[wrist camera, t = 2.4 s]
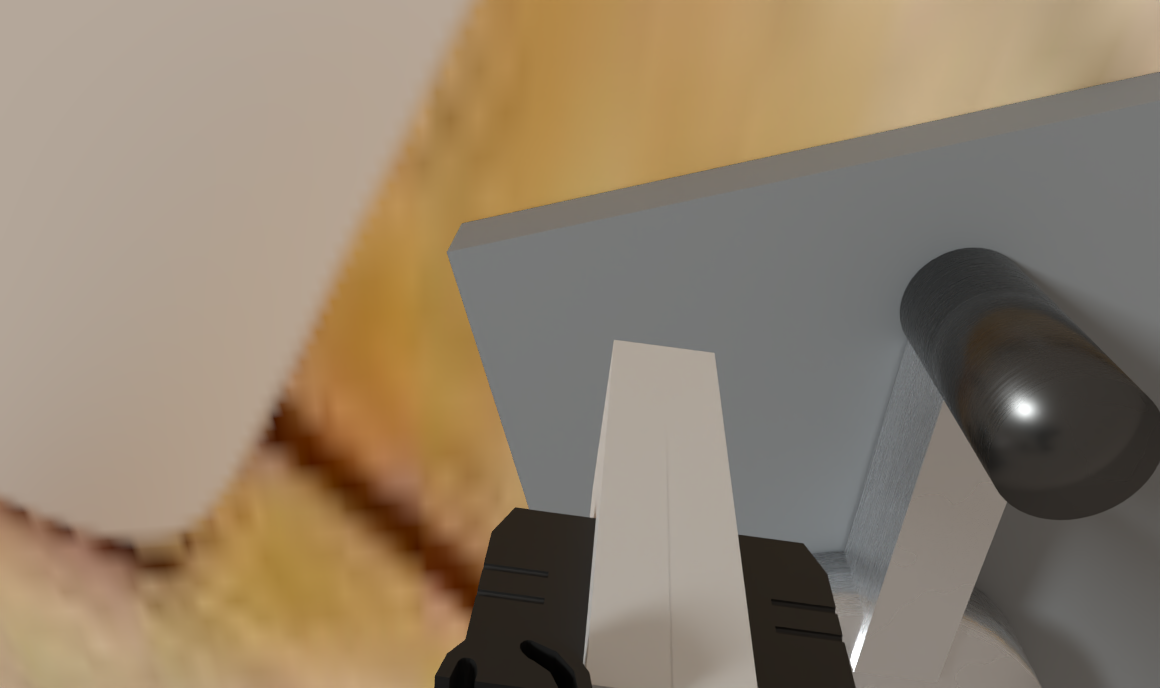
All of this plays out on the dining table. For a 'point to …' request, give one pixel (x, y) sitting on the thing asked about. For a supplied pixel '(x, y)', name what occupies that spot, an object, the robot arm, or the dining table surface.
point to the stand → (849, 330)
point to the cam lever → (977, 470)
